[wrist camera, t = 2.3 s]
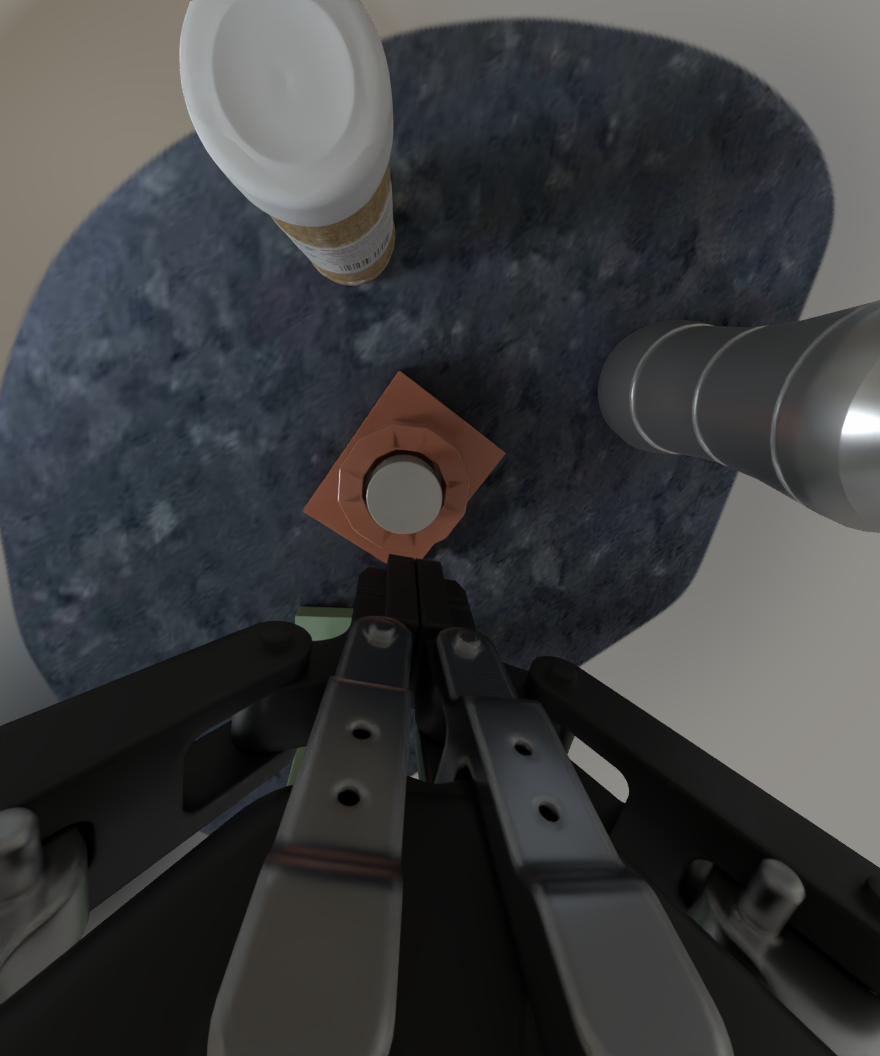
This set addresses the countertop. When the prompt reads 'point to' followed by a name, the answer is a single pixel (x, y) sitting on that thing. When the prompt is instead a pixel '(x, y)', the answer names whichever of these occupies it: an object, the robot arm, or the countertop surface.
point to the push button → (404, 494)
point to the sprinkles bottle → (299, 121)
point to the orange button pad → (413, 429)
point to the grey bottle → (761, 403)
